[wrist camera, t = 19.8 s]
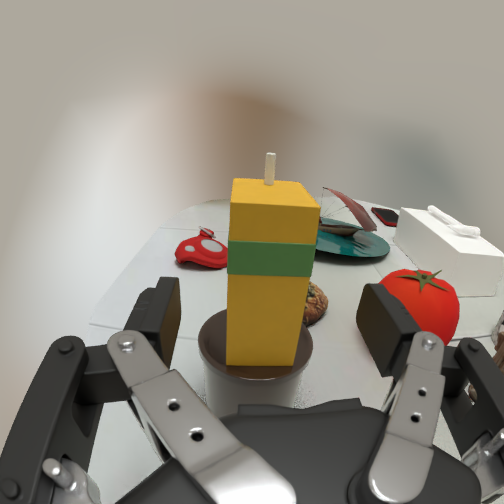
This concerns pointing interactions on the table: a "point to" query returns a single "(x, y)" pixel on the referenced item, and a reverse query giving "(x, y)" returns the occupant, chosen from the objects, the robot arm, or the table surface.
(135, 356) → the robot arm
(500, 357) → the figurine
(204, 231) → the tracker holder
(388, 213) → the cell phone
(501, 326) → the mug
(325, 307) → the bread roll
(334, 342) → the table surface
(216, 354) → the coffee cup
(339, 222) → the boat on round base
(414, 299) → the tomato
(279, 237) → the juice packet
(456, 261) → the tissue box
